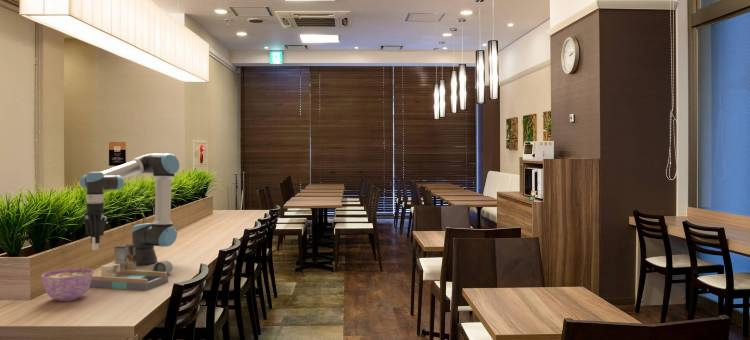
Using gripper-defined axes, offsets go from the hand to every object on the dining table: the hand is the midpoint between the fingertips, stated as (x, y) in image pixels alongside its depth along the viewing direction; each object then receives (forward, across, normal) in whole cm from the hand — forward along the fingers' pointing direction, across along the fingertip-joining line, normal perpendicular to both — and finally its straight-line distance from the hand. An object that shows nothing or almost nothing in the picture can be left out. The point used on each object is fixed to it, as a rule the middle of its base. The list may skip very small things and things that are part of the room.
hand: (95, 249), depth 263 cm
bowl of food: (+17, +11, -29) cm, 35 cm away
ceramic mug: (+16, +22, +21) cm, 35 cm away
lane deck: (+16, +18, 0) cm, 25 cm away
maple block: (+13, +8, 0) cm, 16 cm away
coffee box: (+16, +6, +15) cm, 23 cm away
